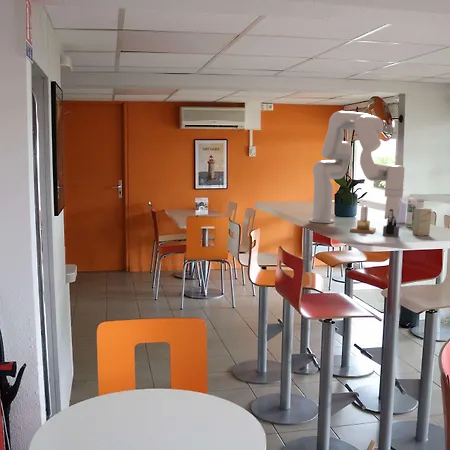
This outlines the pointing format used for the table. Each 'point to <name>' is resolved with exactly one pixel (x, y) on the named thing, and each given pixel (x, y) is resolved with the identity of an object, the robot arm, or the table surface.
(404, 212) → the soap bottle
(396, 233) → the ring
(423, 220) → the skincare box
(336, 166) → the robot arm
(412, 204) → the syrup box
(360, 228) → the post stand
